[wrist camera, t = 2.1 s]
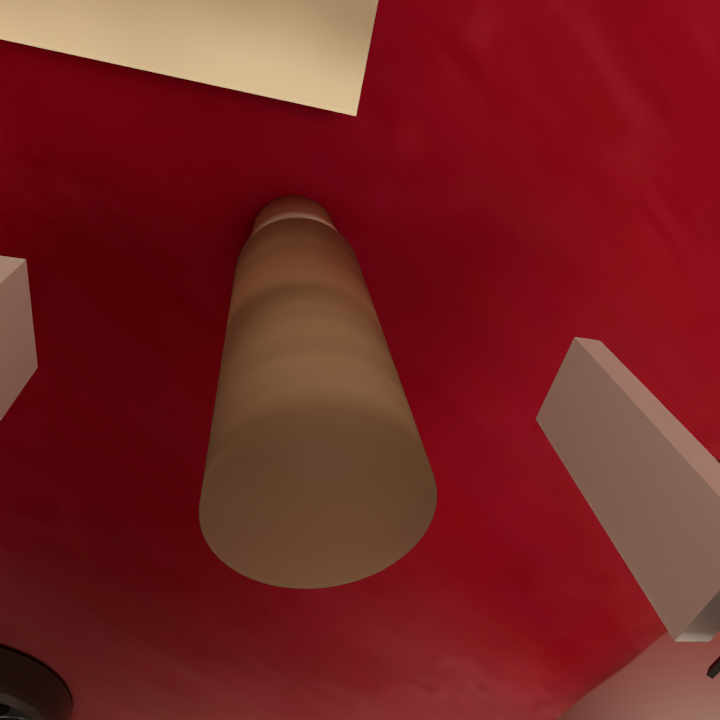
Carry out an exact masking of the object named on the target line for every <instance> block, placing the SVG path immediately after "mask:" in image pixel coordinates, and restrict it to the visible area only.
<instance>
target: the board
mask: <svg viewBox="0 0 720 720" xmlns="http://www.w3.org/2000/svg"><path fill="white" fill-rule="evenodd" d="M377 5H378V0H0V39H2V40H7V41H12V42H16V43H21V44H25V45H30V46H35V47H39V48H44V49H48V50H53V51H58V52H62V53H67V54H72V55H76V56H81V57H85V58H90V59H95V60H99V61H104V62H108V63H113V64H118V65H122V66H127V67H132V68H136V69H141V70H145V71H150V72H155V73H159V74H164V75H169V76H173V77H178V78H182V79H187V80H192V81H196V82H201V83H205V84H210V85H215V86H219V87H224V88H229V89H233V90H238V91H242V92H247V93H252V94H256V95H261V96H266V97H270V98H275V99H279V100H284V101H289V102H293V103H298V104H302V105H307V106H312V107H316V108H321V109H326V110H330V111H335V112H339V113H344V114H349V115H353V116H356V114H357V108H358V103H359V98H360V93H361V88H362V82H363V77H364V72H365V67H366V62H367V56H368V51H369V46H370V41H371V36H372V30H373V25H374V20H375V15H376V10H377Z"/></svg>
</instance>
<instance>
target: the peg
mask: <svg viewBox="0 0 720 720" xmlns="http://www.w3.org/2000/svg"><path fill="white" fill-rule="evenodd" d="M436 501H437V489H436V483H435V479H434V475H433V472H432V470H431V467H430V464H429V461H428V458H427V455H426V453H425V450H424V447H423V444H422V441H421V439H420V436H419V433H418V430H417V427H416V424H415V422H414V419H413V416H412V413H411V410H410V407H409V405H408V402H407V399H406V396H405V393H404V390H403V388H402V385H401V382H400V379H399V376H398V374H397V371H396V368H395V365H394V362H393V359H392V357H391V354H390V351H389V348H388V345H387V342H386V340H385V337H384V334H383V331H382V328H381V325H380V323H379V320H378V317H377V314H376V311H375V309H374V306H373V303H372V300H371V297H370V294H369V292H368V289H367V286H366V283H365V280H364V277H363V275H362V272H361V269H360V266H359V263H358V260H357V258H356V255H355V253H354V251H353V249H352V247H351V246H350V244H349V243H348V241H347V240H346V239H345V238H344V237H343V236H342V235H341V234H340V233H339V232H338V231H337V230H336V228H335V227H334V224H333V221H332V219H331V217H330V216H329V214H328V213H327V211H326V210H325V209H324V208H323V207H322V206H321V205H320V204H318V203H317V202H315V201H313V200H311V199H309V198H306V197H302V196H284V197H280V198H277V199H275V200H273V201H271V202H270V203H268V204H267V205H266V206H265V207H264V208H263V209H262V210H261V211H260V212H259V214H258V215H257V217H256V219H255V222H254V225H253V230H252V235H251V236H250V238H249V239H248V240H247V242H246V243H245V245H244V246H243V248H242V250H241V252H240V254H239V257H238V260H237V263H236V269H235V276H234V282H233V289H232V295H231V302H230V308H229V315H228V321H227V328H226V335H225V341H224V348H223V354H222V361H221V367H220V374H219V380H218V387H217V394H216V400H215V407H214V413H213V420H212V426H211V433H210V439H209V446H208V452H207V459H206V466H205V472H204V479H203V485H202V492H201V498H200V505H199V521H200V526H201V530H202V533H203V535H204V538H205V540H206V542H207V543H208V545H209V547H210V548H211V550H212V551H213V552H214V553H215V554H216V555H217V557H218V558H219V559H220V560H222V561H223V562H224V563H225V564H226V565H227V566H229V567H230V568H232V569H233V570H235V571H237V572H238V573H240V574H242V575H244V576H246V577H248V578H251V579H253V580H256V581H259V582H262V583H266V584H270V585H274V586H280V587H286V588H300V589H310V588H324V587H332V586H337V585H343V584H347V583H350V582H354V581H357V580H360V579H363V578H366V577H368V576H371V575H373V574H375V573H377V572H379V571H381V570H383V569H385V568H387V567H388V566H390V565H392V564H393V563H395V562H396V561H398V560H399V559H400V558H402V557H403V556H404V555H405V554H406V553H408V552H409V551H410V550H411V549H412V548H413V547H414V546H415V545H416V544H417V542H418V541H419V540H420V539H421V538H422V536H423V535H424V533H425V532H426V530H427V529H428V527H429V525H430V523H431V520H432V518H433V515H434V512H435V508H436Z"/></svg>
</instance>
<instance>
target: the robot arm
mask: <svg viewBox="0 0 720 720" xmlns="http://www.w3.org/2000/svg"><path fill="white" fill-rule="evenodd" d="M37 368H38V366H37V356H36V347H35V337H34V328H33V319H32V309H31V300H30V290H29V281H28V272H27V262H26V259H20V258H13V257H6V256H0V421H1V419H2V418H3V416H4V415H5V414H6V412H7V411H8V409H9V408H10V406H11V405H12V404H13V402H14V401H15V399H16V398H17V396H18V395H19V393H20V392H21V391H22V389H23V388H24V386H25V385H26V383H27V382H28V381H29V379H30V378H31V376H32V375H33V373H34V372H35V371H36V369H37ZM536 421H537V422H538V424H539V425H540V427H541V429H542V430H543V432H544V433H545V435H546V437H547V438H548V440H549V441H550V443H551V444H552V446H553V448H554V449H555V451H556V452H557V454H558V456H559V457H560V459H561V460H562V462H563V464H564V465H565V467H566V468H567V470H568V472H569V473H570V475H571V476H572V478H573V480H574V481H575V483H576V484H577V486H578V488H579V489H580V491H581V492H582V494H583V496H584V497H585V499H586V500H587V502H588V504H589V505H590V507H591V508H592V510H593V512H594V513H595V515H596V516H597V518H598V520H599V521H600V523H601V524H602V526H603V528H604V529H605V531H606V532H607V534H608V536H609V537H610V539H611V540H612V542H613V544H614V545H615V547H616V548H617V550H618V552H619V553H620V555H621V556H622V558H623V560H624V561H625V563H626V564H627V566H628V568H629V569H630V571H631V572H632V574H633V576H634V577H635V579H636V580H637V582H638V584H639V585H640V587H641V588H642V590H643V592H644V593H645V595H646V596H647V598H648V600H649V601H650V603H651V604H652V606H653V608H654V609H655V611H656V612H657V614H658V616H659V617H660V619H661V620H662V622H663V624H664V625H665V627H666V628H667V630H668V632H669V633H670V635H671V636H672V638H673V639H674V641H691V642H692V641H693V642H694V641H696V642H697V641H698V642H704V641H705V642H709V641H710V640H711V639H712V638H713V637H714V636H715V635H716V633H717V632H718V631H719V630H720V461H719V460H717V459H716V458H714V457H713V456H712V455H711V454H710V453H709V452H708V451H707V450H706V449H705V448H704V447H703V446H702V445H701V444H700V443H699V442H698V441H697V439H696V438H695V437H694V436H693V435H692V434H691V433H690V432H689V431H688V430H687V429H686V428H685V427H684V426H683V425H682V424H681V423H680V422H679V421H678V420H677V419H676V418H675V417H674V416H673V415H672V414H671V413H670V412H669V411H668V410H667V409H666V408H665V407H664V406H663V405H662V404H661V403H660V402H659V401H658V399H657V398H656V397H655V396H654V395H653V394H652V393H651V392H650V391H649V390H648V389H647V388H646V387H645V386H644V385H643V384H642V383H641V382H640V381H639V380H638V379H637V378H636V377H635V376H634V375H633V374H632V373H631V372H630V371H629V370H628V369H627V368H626V367H625V366H624V365H623V364H622V363H621V362H620V360H619V359H618V358H617V357H616V356H615V355H614V354H613V353H612V352H611V351H610V350H609V349H608V348H607V347H606V346H605V345H604V344H603V343H602V342H601V341H599V340H592V339H585V338H578V337H575V338H574V340H573V342H572V344H571V346H570V348H569V350H568V352H567V354H566V356H565V359H564V361H563V363H562V365H561V367H560V369H559V371H558V373H557V375H556V377H555V379H554V382H553V384H552V386H551V388H550V390H549V392H548V394H547V396H546V398H545V400H544V403H543V405H542V407H541V409H540V411H539V413H538V415H537V417H536ZM719 672H720V657H719V658H718V659H717V660H716V661H715V662H714V663H713V664H712V665H711V666H710V667H709V669H708V672H707V676H709V677H711V678H712V679H713V678H714V677H715V676H716V675H717V674H718V673H719ZM71 713H72V702H71V698H70V695H69V693H68V691H67V689H66V688H65V686H64V685H63V684H62V682H61V681H60V680H59V679H58V678H57V677H56V676H55V675H54V674H52V673H51V672H50V671H49V670H47V669H46V668H44V667H43V666H41V665H40V664H38V663H36V662H34V661H32V660H31V659H29V658H26V657H24V656H22V655H20V654H17V653H15V652H12V651H9V650H6V649H3V648H0V720H70V717H71Z"/></svg>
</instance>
